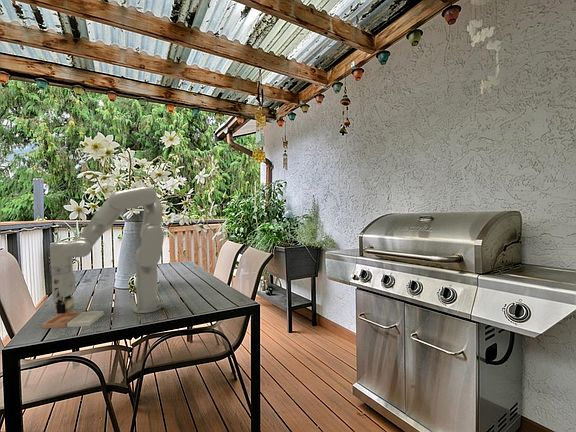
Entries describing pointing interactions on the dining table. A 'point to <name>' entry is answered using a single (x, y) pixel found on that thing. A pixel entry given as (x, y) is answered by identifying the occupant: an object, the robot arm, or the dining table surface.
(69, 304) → the letter cube
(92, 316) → the tray
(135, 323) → the dining table surface
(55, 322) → the tray
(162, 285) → the dining table surface
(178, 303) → the dining table surface
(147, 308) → the robot arm
